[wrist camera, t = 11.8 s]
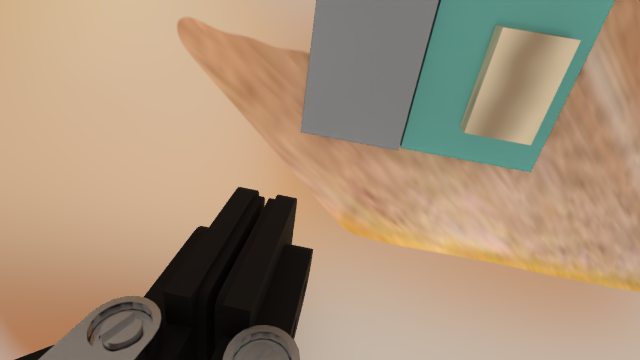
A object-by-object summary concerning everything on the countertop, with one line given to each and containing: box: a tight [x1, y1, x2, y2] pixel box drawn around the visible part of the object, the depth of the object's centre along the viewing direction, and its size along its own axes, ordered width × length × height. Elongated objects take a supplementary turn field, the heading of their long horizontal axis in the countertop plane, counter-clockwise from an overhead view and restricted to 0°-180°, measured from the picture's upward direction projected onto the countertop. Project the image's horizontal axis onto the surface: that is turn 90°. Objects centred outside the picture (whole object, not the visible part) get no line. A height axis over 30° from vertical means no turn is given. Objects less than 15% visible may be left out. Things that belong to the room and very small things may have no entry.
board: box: [301, 0, 439, 150], centre depth 32 cm, size 10×18×2 cm, turn 172°
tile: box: [460, 25, 581, 145], centre depth 31 cm, size 6×9×2 cm, turn 172°
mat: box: [400, 0, 615, 172], centre depth 32 cm, size 13×18×1 cm
